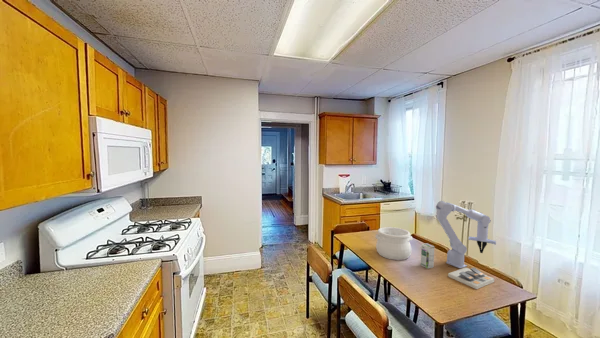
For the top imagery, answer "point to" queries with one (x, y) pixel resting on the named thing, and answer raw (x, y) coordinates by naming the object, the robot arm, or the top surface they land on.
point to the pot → (393, 243)
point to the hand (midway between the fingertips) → (481, 252)
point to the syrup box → (427, 255)
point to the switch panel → (475, 282)
